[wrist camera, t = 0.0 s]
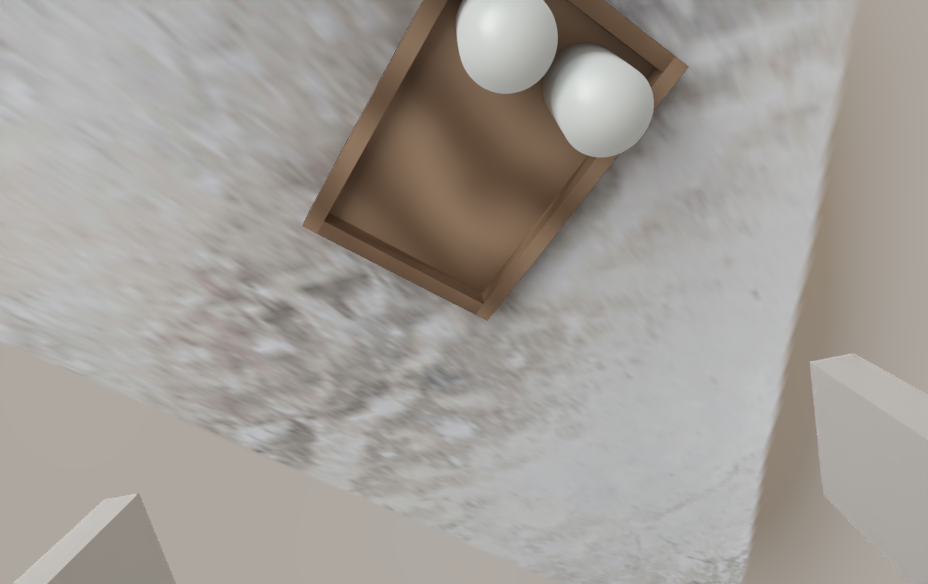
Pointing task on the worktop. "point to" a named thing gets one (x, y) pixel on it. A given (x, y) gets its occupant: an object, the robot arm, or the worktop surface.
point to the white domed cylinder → (597, 99)
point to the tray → (468, 160)
